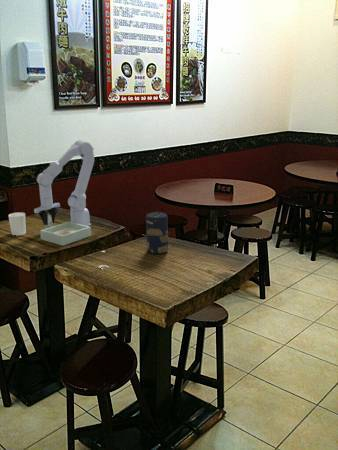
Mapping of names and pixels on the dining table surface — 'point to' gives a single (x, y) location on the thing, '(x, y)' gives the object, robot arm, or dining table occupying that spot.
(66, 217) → the dining table surface
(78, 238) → the caddy
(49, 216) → the peg
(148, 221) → the canister
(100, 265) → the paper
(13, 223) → the white cup
